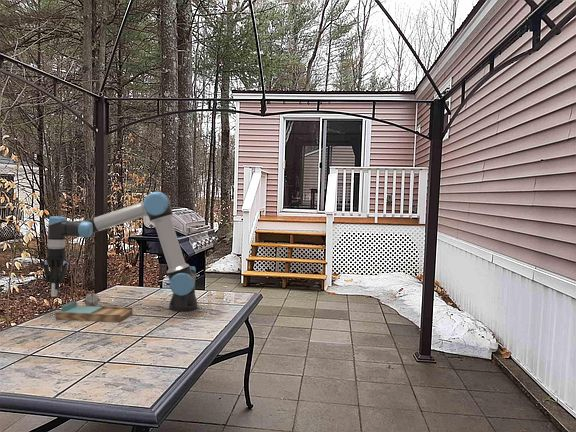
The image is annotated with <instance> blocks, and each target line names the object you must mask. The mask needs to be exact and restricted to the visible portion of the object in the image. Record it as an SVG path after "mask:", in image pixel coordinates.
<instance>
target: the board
mask: <svg viewBox="0 0 576 432" xmlns="http://www.w3.org/2000/svg"><path fill="white" fill-rule="evenodd" d="M93 307H102V309H100V310H98V311H96V312H94V313H92V314H86V313H62V312H61V311H60V312H58V311H57V312H55V320H58V321H59V320H60V321H76V322H77V321H79V322H106V323H107V322H108V323H121V322H123V321H124V320H125V319H127V318H128V317H130V316H132V315H133V307H125V306H123V307H121V306H99V305H97V306H93Z"/></svg>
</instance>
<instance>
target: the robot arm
mask: <svg viewBox="0 0 576 432" xmlns="http://www.w3.org/2000/svg"><path fill="white" fill-rule="evenodd" d="M171 203H172V202H171V199H170V197H169V195H167V194H166V193H164V192H161V191H152V192H149V193H148V194H147V195H146V196H145V197H144V199H142V200H141V202H138V203H134V204H132V205H128V206H126V207H123V208H120V209H116V210H114V211H111V212H107V213H104V214H102V215H99V216H95V217H92V218H89V219H86V220H79V221H77V220H67V218H66V216H55V215H53V216H50V217H48V223H47V224H48V225H47V245H46V246H47V249H46V256H47V257H46V259H45V260H44V261H41V266H42V268H43V273H44V277H45V281H46V282H48V283H49V290H51V291H50V297H52V298H53V297H57V296H58V290H60V283H61V282H64V280H65V277H66V273H67V270H68V267H70V262H67V260H66V258H65V253H66V248H65V247H66V237H79V238H87V237H88V238H90V237H92V235H93V234H95V233H98V232H100V231H104V230H106V229H110V228H112V227H113V228H114V227H115V226H118V225H121V224H125V223H127V222H131V221H134V220H137V219H141V218H144V217H148V219H149V221H150V222H151V223H153V225H154V227H155V230H156V233H157V237H158V240H159V242H160V245H161V249H162V252H163V255H164V258H165V261H166V263H167V267H168V269H167V270H166V274H167V277H168V280H169V289H170V290H171V292H172V295H171V299H170V301H169V304H168V305H169V306H168V308H169V310H170V311H171V310H172V311H175V312H176V311H177V312H189V311H195V310H197V309H198V306H199V304H198V301H197V298H196V273H197V268H196V267H195V266H194V265H193V266H191V265H190V264H189V263H186V261H185V258H184V255H183V252H182V248H181V245H180V243H179V239H178V236H177V233H176V230H175V227H174V223H173V221H172V218H173V215H174V214H173V211H172V207H171V205H172V204H171ZM194 309H195V310H194Z"/></svg>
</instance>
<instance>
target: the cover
mask: <svg viewBox="0 0 576 432" xmlns="http://www.w3.org/2000/svg"><path fill="white" fill-rule="evenodd" d="M102 307H103V306H102ZM102 307H93V306H86V305H78V301H77V300H76V301H75V300H74V301H70V302H69V303H66V304H64V305H62V306H61V308H60V309H61V311H60V312H62V313H86V314H92V313H94V312H96V311H98V310H100V309H102Z"/></svg>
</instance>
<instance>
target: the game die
mask: <svg viewBox="0 0 576 432" xmlns="http://www.w3.org/2000/svg"><path fill="white" fill-rule="evenodd" d="M85 294H86V296H85V298H84V299H83V301H82V303H84V304H85V306H98V303H99V302H100V301H101V298H100V297H99V296H98V292H97V291H96V293H88V292H86V293H85Z"/></svg>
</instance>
